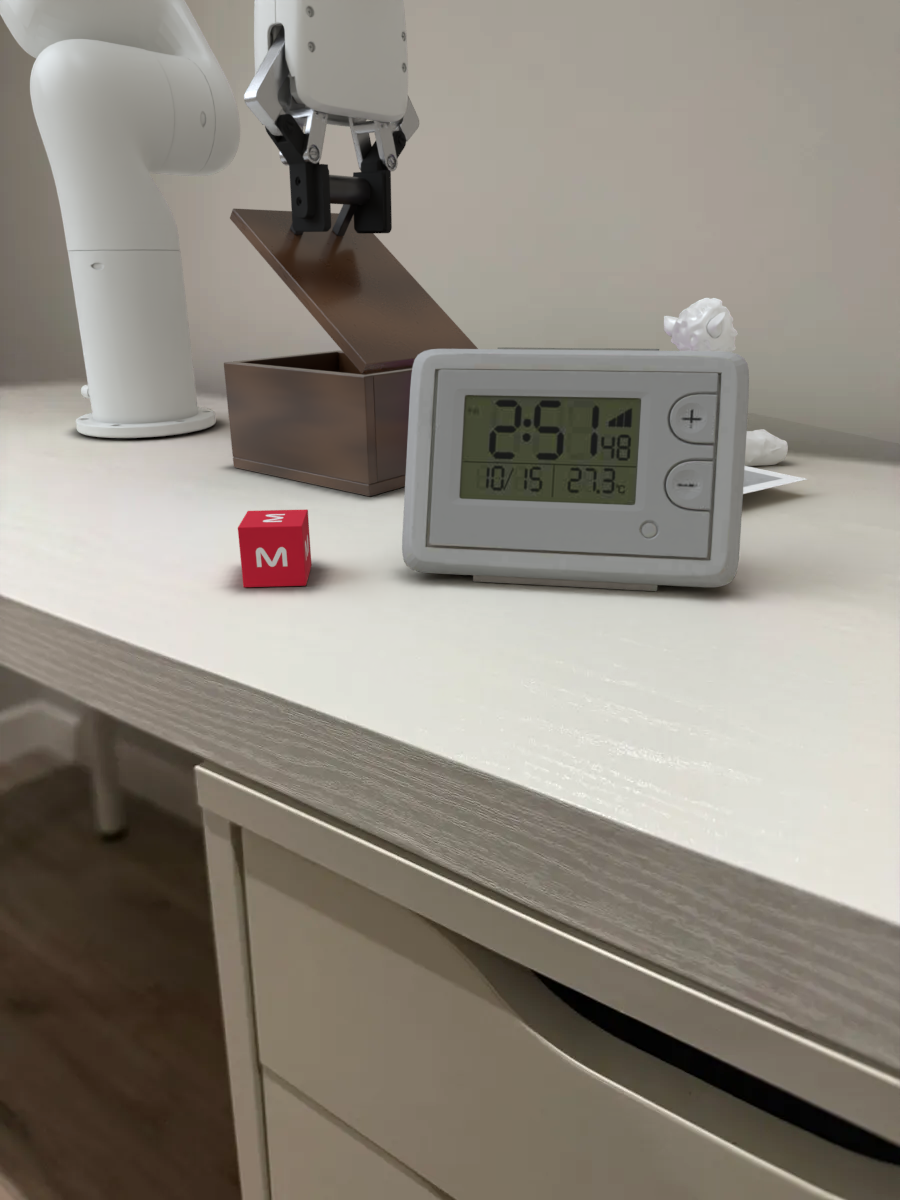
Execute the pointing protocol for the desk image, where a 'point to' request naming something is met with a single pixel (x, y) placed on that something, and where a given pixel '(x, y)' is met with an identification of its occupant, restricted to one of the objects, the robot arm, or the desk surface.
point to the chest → (320, 421)
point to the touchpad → (765, 479)
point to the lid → (353, 283)
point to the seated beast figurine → (714, 331)
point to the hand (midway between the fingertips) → (343, 229)
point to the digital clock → (576, 466)
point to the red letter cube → (275, 548)
